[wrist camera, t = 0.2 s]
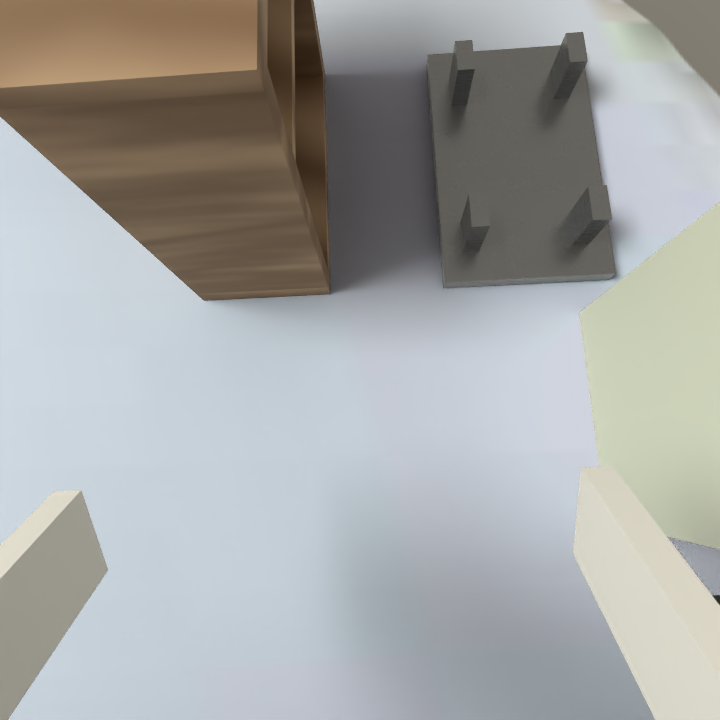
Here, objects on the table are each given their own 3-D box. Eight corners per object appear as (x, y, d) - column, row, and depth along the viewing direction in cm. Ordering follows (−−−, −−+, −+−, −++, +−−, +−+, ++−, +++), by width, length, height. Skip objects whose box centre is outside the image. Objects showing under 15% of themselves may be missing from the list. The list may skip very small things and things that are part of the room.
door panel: (699, 518, 27) (1013, 571, 14) (606, 521, 28) (824, 576, 14) (663, 309, 30) (899, 176, 16) (578, 313, 30) (740, 185, 16)
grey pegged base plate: (608, 279, 30) (641, 252, 26) (443, 288, 31) (451, 262, 27) (575, 56, 34) (600, 2, 30) (426, 66, 34) (431, 15, 30)
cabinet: (330, 294, 31) (256, 69, 13) (203, 300, 31) (-30, 90, 14) (324, 73, 34) (260, -337, 17) (210, 81, 35) (30, -312, 17)
